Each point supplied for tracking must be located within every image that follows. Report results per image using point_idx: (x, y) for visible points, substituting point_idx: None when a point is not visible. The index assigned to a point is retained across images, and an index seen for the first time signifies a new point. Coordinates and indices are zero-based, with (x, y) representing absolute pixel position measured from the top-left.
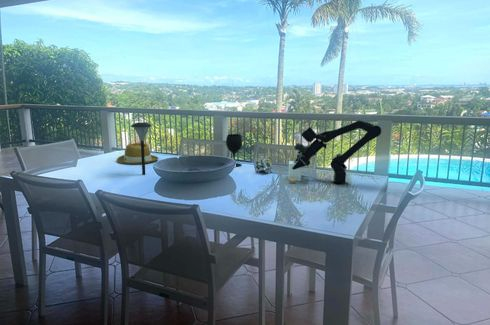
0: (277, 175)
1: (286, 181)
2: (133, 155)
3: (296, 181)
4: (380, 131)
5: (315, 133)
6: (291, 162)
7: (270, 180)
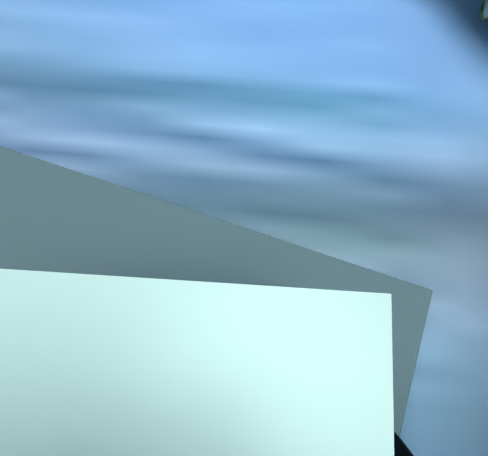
0: (442, 171)
1: (38, 267)
2: None
3: None
4: None
5: None
6: (148, 371)
7: (140, 56)
